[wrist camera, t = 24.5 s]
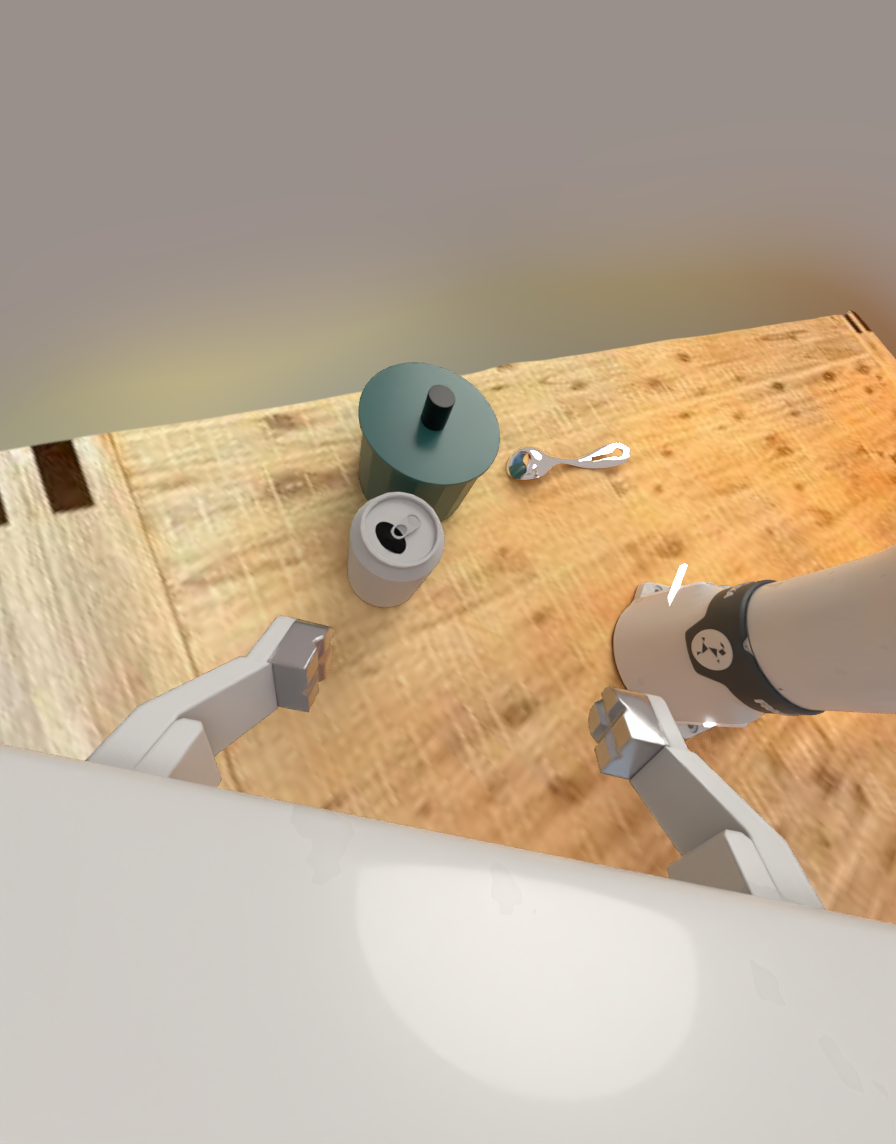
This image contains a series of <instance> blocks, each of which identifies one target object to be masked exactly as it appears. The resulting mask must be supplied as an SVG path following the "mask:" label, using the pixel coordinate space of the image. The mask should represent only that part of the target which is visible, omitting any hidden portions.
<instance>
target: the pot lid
mask: <svg viewBox="0 0 896 1144" xmlns="http://www.w3.org/2000/svg"><path fill="white" fill-rule="evenodd" d="M359 423H360V428H361V431H362V433H363V436H364V438H365V440H366V442H367V444H368V446H369V447H370V448H371V450H372V451H373V453H374V454H375V455H376V456H377V457H378V458H379V460H380V461H382V462H383V463H384V464H385V465H386V466H387V467H388V468H390V469H391V470H393V471H394V472H395V473H397V474H399V475H401V476H402V477H404V478H406V479H409V480H411V481H413V482H416V483H419V484H422V485H427V486H432V487H454V486H460V485H463V484H466V483H469V482H471V481H473V480H475V479H477V478H478V477H480V476H481V475H483V474H484V473H485V472H486V471H487V470H488V468H489V467H490V466H491V464H492V463H493V461H494V459H495V457H496V455H497V453H498V449H499V444H500V431H499V425H498V422H497V418H496V416H495V414H494V411H493V409H492V408H491V406H490V404H489V403H488V401H487V400H486V399H485V397H484V396H483V395H482V394H481V393H480V392H479V390H478V389H476V388H475V387H474V386H473V385H472V384H471V383H469V382H468V381H467V380H465V379H464V378H462V377H461V376H459V375H457V374H456V373H453V372H451V371H450V370H447V369H444V368H442V367H439V366H435V365H431V364H426V363H402V364H397V365H393V366H390V367H388V368H386V369H384V370H382V371H380V372H379V373H377V374H376V375H375V376H374V377H372V379H370V381H369V382H368V383H367V384H366V386H365V388H364V390H363V392H362V394H361V397H360V402H359Z"/></svg>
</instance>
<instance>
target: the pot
mask: <svg viewBox="0 0 896 1144" xmlns="http://www.w3.org/2000/svg"><path fill="white" fill-rule="evenodd" d="M359 480H360V485H361V488H362V491H363V493H364V495H365V497H366V498H367V500H368V501H369V500H371V499H373V498H376V497H378V496H380V495H383V494H385V493H390V492H404V493H409V494H413V495H415V496H417V497H419V498H421V499H423V500H424V501H425V502H426V503H427V504H428V505H430V506H431V507H432V508H433V510H434V511H435V513H436V514H437V516H438V518H439V520H440V522H441V521H443V520H445V519H446V518H448V517H449V516H450V515H451V514H452V513H453V512H454V511H455V510H456V509H457V508H458V507H459V505H460V504H461V502H462V501H463V499H464V498H465V496H466V495H467V493H468V492H469V490H470V489H471V487H472V486H473V484H474V483H475V481H476V480H477V479H475V480H473V481H471V482H469V483H466V484H463V485H460V486H454V487H432V486H427V485H422V484H419V483H416V482H413V481H411V480H409V479H406V478H404V477H402V476H401V475H399V474H397V473H395V472H394V471H393V470H391V469H390V468H388V467H387V466H386V465H385V464H384V463H383V462H382V461H380V460H379V458H378V457H377V456H376V455H375V454H374V453H373V451H372V450H371V448H370V447H369V446H368V444H367V442H366V440H365V438H364V436H363V433H362V440H361V451H360V463H359Z"/></svg>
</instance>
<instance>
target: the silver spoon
mask: <svg viewBox="0 0 896 1144" xmlns="http://www.w3.org/2000/svg"><path fill="white" fill-rule="evenodd" d="M614 449H619V450H621V451H622V457H616V456H614V457H610V458H606V459H601V460H597V461H592V457H597V456H601V455H605V454H610V453H613V450H614ZM629 457H630V449H629V448H628V447H626V446H625V445H623V444H621V443H613V444H609V445H606V446H603V447H601V448H599V449H596V450H594V451H592V452H590V453H587V454H585V455H583V456H580V457H577V458H570V459H567V458H560V457H556V456H553V455H551V454H549V453H547V452H545V451H543V450H541V449H539V448H536V447H533V446H524V447H521V448H519V449H517V450H516V451H514V452H513V453H512V454H511V456H510V457H509V459H508V461H507V467H506V468H507V472H508V474H509V475H510V476H511V477H512V478H515V479H520V480H528V479H535V478H539V477H541V476H543V475H545V474H546V473H547V472H548V471H549V470H550V469H551V468H552V467H553V466H555V465H556V464H568V465H573V466H577V467H582V468H607V467H613V466H617V465H620V464H623V463H625V462H626V461H627V460H628V459H629Z"/></svg>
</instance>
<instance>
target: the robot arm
mask: <svg viewBox="0 0 896 1144" xmlns="http://www.w3.org/2000/svg"><path fill="white" fill-rule="evenodd" d="M686 568H687V564H683V565H680V567H679V569H678V572H677V574H676V577H675V580H674V582H673V585H672V587H669V586H665V585H661V584H656V583H652V582H645V583H641V584H640V585H639V586H638V588H637V590H636V593H635V596H634V600H633V601H632V603H631V604H630V605H629V606H628V607H627V608H626V609H625V610H624V611H623V612H622V614H621V615H620V617H619V619H618V621H617V624H616V627H615V631H614V640H613V648H614V656H615V661H616V665H617V669H618V671H619V674H620V676H621V679H622V681H623V683H624V684H625V686H626V688H627V689H628V690H626V689H621V688H616V687H611V686H609V687H607V688H605V689H604V691H603V692H602V693H601V695H602V698H603V699H602V700H600V701H598V702H595V703H594V704H593V706H592V708H591V709H590V713H589V717H588V724H589V730H590V734H591V736H592V737H593V738H594V739H595V741H596V742H597V745H596V747H595V749H594V750H595V754H596V758H597V762H598V766H599V770H600V773H603V774H607V775H611V776H616V777H620V778H624V779H628V780H630V781H629V782H630V783H631V785H632V786H633V788H634V789H635V790H636V792H637V793H638V795H639V796H640V798H641V799H642V800H643V802H644V803H645V805H646V806H647V807H648V809H649V810H650V812H651V813H652V815H653V816H654V817H655V819H656V820H657V822H658V823H659V825H660V826H661V827H662V829H663V830H664V832H665V833H666V835H667V836H668V837H669V839H670V840H671V842H672V843H673V845H674V846H675V847H676V849H677V850H678V852H679V853H680V855H681V856H682V857H680V858H679V859H677V860H675V861H674V862H672V863H670V864H669V866H668V867H667V872H668V875H669V878H665V877H660V876H655V875H650V874H645V873H640V872H635V871H630V870H625V869H620V868H615V867H610V866H605V865H600V864H595V863H590V862H585V861H580V860H575V859H571V858H566V857H561V856H556V855H551V854H546V853H541V852H536V851H531V850H526V849H521V848H516V847H511V846H506V845H501V844H496V843H491V842H486V841H481V840H476V839H471V838H466V837H461V836H456V835H451V834H446V833H441V832H436V831H431V830H427V829H422V828H417V827H412V826H407V825H402V824H397V823H392V822H387V821H382V820H377V819H372V818H367V817H362V816H357V815H352V814H347V813H342V812H337V811H332V810H327V809H322V808H317V807H312V806H307V805H302V804H297V803H292V802H287V801H282V800H277V799H272V798H267V797H262V796H257V795H252V794H247V793H242V792H237V791H232V790H227V789H222V788H217V787H218V785H219V783H220V782H221V780H222V779H221V774H220V771H219V769H218V766H217V763H216V760H215V758H214V756H215V755H217V754H218V753H219V752H221V751H222V750H223V749H225V748H226V747H227V746H229V745H230V744H231V743H233V742H234V741H235V740H237V739H238V738H239V737H241V736H242V735H243V734H245V733H246V732H247V731H249V730H250V729H251V728H253V727H254V726H255V725H257V724H258V723H259V722H261V721H262V720H263V719H264V718H266V717H267V716H268V715H270V714H271V713H272V712H274V711H275V710H276V709H278V707H282V708H288V709H294V710H299V711H305V712H309V710H310V708H311V706H312V704H313V702H314V700H315V698H316V696H317V694H318V692H319V682H321V681H322V680H324V679H325V678H326V676H327V673H328V671H329V669H330V665H331V662H332V658H333V646H332V645H331V641H332V639H333V637H334V632H333V628H332V627H329V626H325V625H321V624H317V623H313V622H309V621H305V620H300V619H295V618H291V617H287V616H282V615H280V616H279V617H277V618H275V620H274V621H273V622H272V624H271V625H270V626H269V627H268V629H267V630H266V631H265V633H264V634H263V635H262V636H261V638H260V639H259V640H258V642H257V643H256V644H255V646H254V647H253V648H252V649H251V651H250V652H249V653H248V655H247V656H246V657H238V658H236V659H234V660H232V661H230V662H227V663H225V664H223V665H221V666H219V667H217V668H215V669H213V670H211V671H209V672H207V673H205V674H203V675H201V676H199V677H197V678H195V679H193V680H190V681H188V682H186V683H184V684H182V685H180V686H178V687H176V688H174V689H172V690H170V691H168V692H166V693H164V694H162V695H160V696H158V697H156V698H154V699H151V700H149V701H147V702H145V703H143V704H141V705H139V706H137V707H136V708H135V709H134V710H133V712H132V713H131V714H130V715H129V716H128V717H127V718H126V719H125V720H124V721H123V722H122V723H121V724H120V725H119V726H118V727H117V728H116V729H115V730H114V731H113V732H112V733H111V734H110V735H109V736H108V737H107V739H106V740H105V741H104V742H103V743H102V744H101V745H100V746H99V747H98V748H97V749H96V750H95V751H94V752H93V753H92V754H91V755H90V756H89V757H88V758H87V759H86V760H85V761H83V760H78V759H73V758H68V757H63V756H58V755H53V754H48V753H43V752H38V751H33V750H28V749H23V748H18V747H13V746H8V745H3V744H0V1144H896V924H894V923H889V922H884V921H879V920H874V919H869V918H864V917H859V916H854V915H849V914H844V913H839V912H834V911H829V910H826V909H825V907H824V905H823V904H822V902H821V900H820V899H819V897H818V895H817V893H816V892H815V890H814V888H813V887H812V885H811V883H810V882H809V880H808V878H807V876H806V875H805V873H804V871H803V870H802V868H801V866H800V864H799V863H798V861H797V859H796V858H795V856H794V854H793V852H792V851H791V849H790V847H789V846H788V844H787V842H786V841H785V839H784V838H782V837H781V836H780V835H779V834H778V833H777V832H776V831H775V830H774V829H773V828H772V827H771V826H770V825H769V824H768V823H767V822H766V821H765V820H764V819H763V818H762V817H761V816H760V815H759V814H758V813H757V812H756V811H755V810H754V809H753V808H752V807H750V806H749V805H748V804H747V803H746V802H745V801H744V800H743V799H742V798H741V797H740V796H739V795H738V794H737V793H736V792H735V791H734V790H733V789H732V788H731V787H730V786H729V785H728V784H727V783H726V782H725V781H724V780H723V779H722V778H721V777H720V776H718V775H717V774H716V773H715V772H714V771H713V770H712V769H711V768H710V767H709V766H708V765H707V764H706V763H705V762H704V761H703V760H702V759H701V758H700V757H699V756H698V755H697V754H696V753H695V752H691V751H689V749H688V747H687V745H686V743H685V741H684V739H689V738H691V737H693V736H695V735H697V734H700V733H702V732H704V731H706V730H708V729H710V728H712V727H714V726H723V727H747V726H748V723H750V722H753V721H755V720H757V719H758V718H760V717H761V716H762V715H764V714H765V713H772V714H779V715H785V716H798V715H817V714H820V713H823V712H824V711H842V712H862V713H882V714H896V544H894V545H892V546H890V547H887V548H885V549H883V550H881V551H879V552H876V553H873V554H871V555H868V556H865V557H862V558H859V559H856V560H853V561H849V562H846V563H843V564H840V565H836V566H833V567H829V568H826V569H822V570H819V571H815V572H812V573H808V574H804V575H801V576H797V577H793V578H789V579H785V580H781V581H774V580H762V581H758V582H747V583H743V584H739V585H737V586H734V587H731V586H728V585H719V586H715V584H714V583H705V582H695V583H691V584H687V585H683V586H680V584H681V581H682V579H683V576H684V573H685V571H686Z"/></svg>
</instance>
